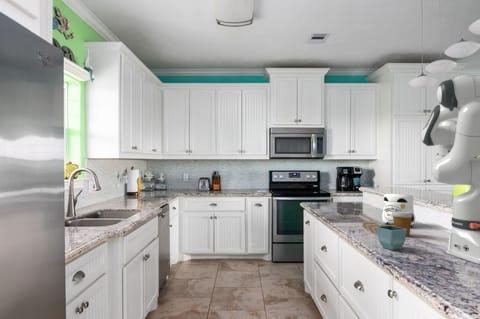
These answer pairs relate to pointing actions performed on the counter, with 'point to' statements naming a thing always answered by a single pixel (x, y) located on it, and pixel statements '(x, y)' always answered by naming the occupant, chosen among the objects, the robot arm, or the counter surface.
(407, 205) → the milk container
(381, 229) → the flower pot
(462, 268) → the counter surface
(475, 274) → the counter surface
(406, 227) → the disposable coffee cup
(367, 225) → the walnut T block
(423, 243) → the counter surface
